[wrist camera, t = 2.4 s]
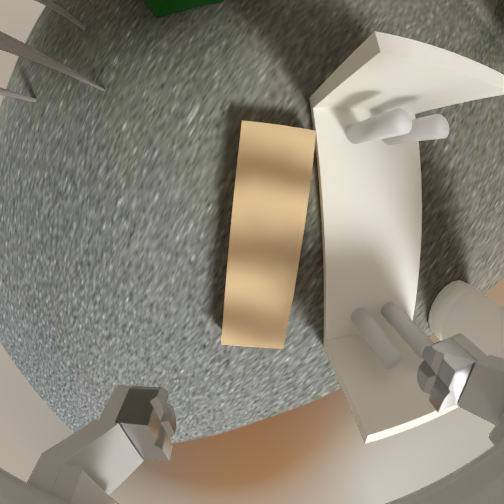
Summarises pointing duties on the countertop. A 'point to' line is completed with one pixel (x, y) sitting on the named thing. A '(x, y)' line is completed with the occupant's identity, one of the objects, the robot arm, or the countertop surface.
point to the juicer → (41, 54)
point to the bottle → (468, 317)
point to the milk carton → (174, 5)
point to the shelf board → (266, 232)
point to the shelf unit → (381, 216)
